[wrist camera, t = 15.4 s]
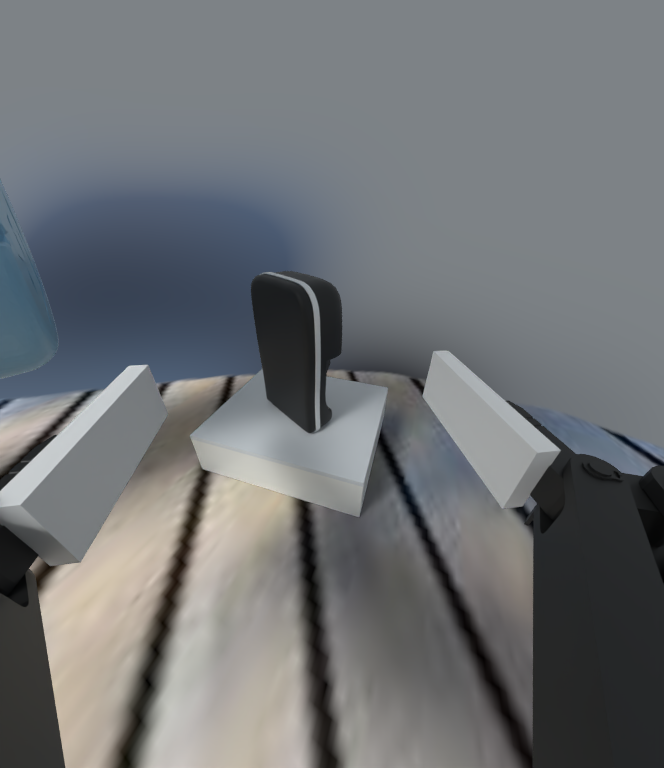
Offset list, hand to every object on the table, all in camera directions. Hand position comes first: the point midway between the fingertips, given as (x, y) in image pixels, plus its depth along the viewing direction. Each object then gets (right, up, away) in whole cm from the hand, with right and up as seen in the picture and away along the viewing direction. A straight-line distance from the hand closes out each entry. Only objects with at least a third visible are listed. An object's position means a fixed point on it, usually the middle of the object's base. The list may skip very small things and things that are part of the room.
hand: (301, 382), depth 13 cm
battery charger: (-1, -2, +11) cm, 12 cm away
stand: (-1, -6, +13) cm, 15 cm away
